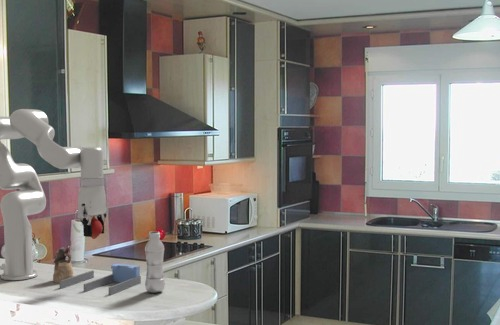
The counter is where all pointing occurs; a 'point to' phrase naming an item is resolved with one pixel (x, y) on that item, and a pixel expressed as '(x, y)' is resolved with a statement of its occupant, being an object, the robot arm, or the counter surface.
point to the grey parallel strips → (100, 282)
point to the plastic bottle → (154, 263)
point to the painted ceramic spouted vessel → (62, 265)
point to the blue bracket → (124, 272)
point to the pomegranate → (96, 227)
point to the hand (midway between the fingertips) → (94, 234)
